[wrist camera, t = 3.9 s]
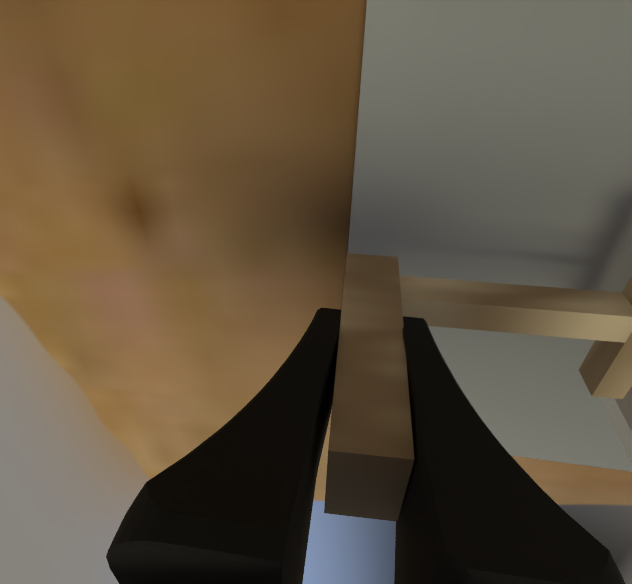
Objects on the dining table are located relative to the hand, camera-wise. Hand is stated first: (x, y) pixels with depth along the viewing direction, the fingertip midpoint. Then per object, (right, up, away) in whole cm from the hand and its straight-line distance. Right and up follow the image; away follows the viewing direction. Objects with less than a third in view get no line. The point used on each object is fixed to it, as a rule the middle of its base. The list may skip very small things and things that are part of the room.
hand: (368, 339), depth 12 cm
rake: (+4, +1, +2) cm, 5 cm away
